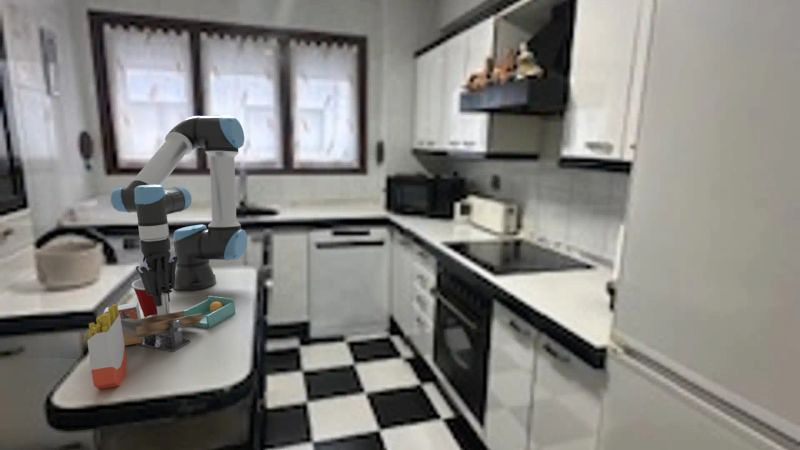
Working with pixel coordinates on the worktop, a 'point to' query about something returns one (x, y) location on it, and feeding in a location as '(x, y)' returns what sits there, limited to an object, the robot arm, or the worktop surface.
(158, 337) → the stand
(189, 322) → the lever
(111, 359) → the french fries container
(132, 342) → the small box
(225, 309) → the tray
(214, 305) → the ball
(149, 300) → the plastic cup
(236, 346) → the worktop surface
